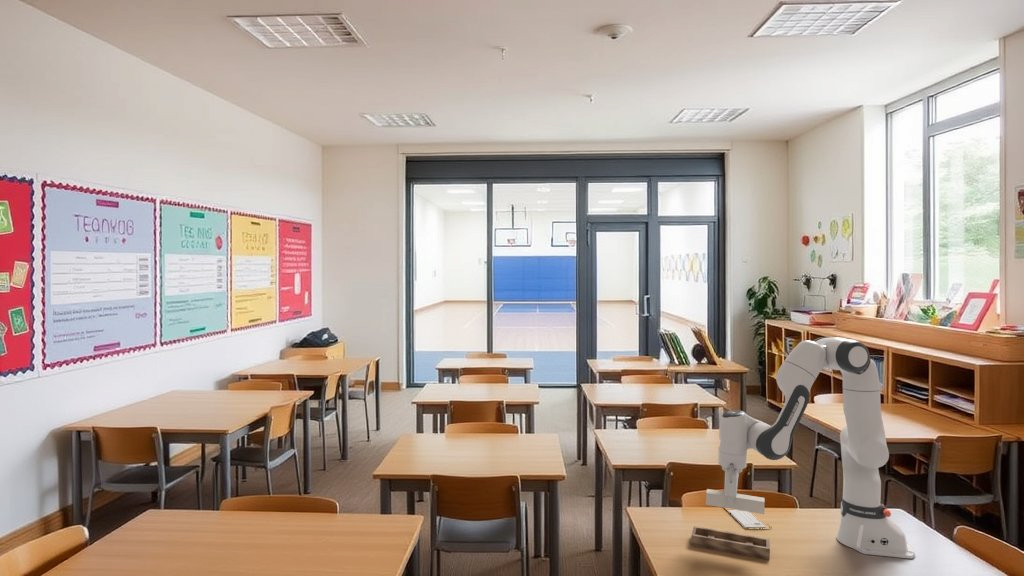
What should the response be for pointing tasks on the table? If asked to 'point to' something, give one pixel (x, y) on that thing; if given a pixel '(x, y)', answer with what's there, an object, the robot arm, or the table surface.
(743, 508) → the clay strip
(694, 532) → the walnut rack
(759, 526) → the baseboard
